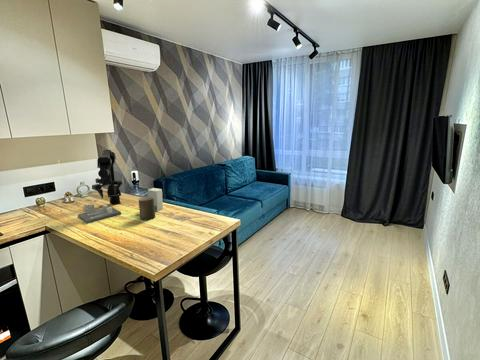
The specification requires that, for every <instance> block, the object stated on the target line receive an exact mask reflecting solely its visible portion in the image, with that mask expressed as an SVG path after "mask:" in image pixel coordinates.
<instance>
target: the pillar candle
mask: <svg viewBox="0 0 480 360" xmlns="http://www.w3.org/2000/svg"><path fill="white" fill-rule="evenodd" d="M137 200H138V209H139V217H140V220H142V221H151V220H153V219H155V218H156V211H155V207H154V198H153V197H149V196H148V195H147V196H143V197H139V198H138V199H137Z"/></svg>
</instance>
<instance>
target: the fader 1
mask: <svg viewBox="0 0 480 360" xmlns="http://www.w3.org/2000/svg"><path fill="white" fill-rule="evenodd" d="M108 207H109V205H107V204H104V205H102V208H103V210H104V211H107V208H108Z"/></svg>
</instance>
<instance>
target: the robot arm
mask: <svg viewBox="0 0 480 360" xmlns="http://www.w3.org/2000/svg"><path fill="white" fill-rule="evenodd" d="M116 160H117V156H116V153H115V152H113V151H112V150H111V149H103V151H102V155H101V156H100V155H99V156H98V158H97V160H96V161H97V162H96V163H97V164H96V165H97V167H96V168H98V169H99V170H98V173H97V174H98V176H99V177H100V178H95V184H92V186H91V190H95V191H96V192H97V193H98V194H99V196H100V198H101V199H104V190H103V188H105V187H107V190H106V193H107V197H108V198H109V200H108V201H109V204H110V205H112V206H115V205H119V204H122V202H121V199H120V197H122V191H121V190H120V187H122V185H123V180H120V179H117V180H116V175H115V166H114V165H115V163H116Z"/></svg>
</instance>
